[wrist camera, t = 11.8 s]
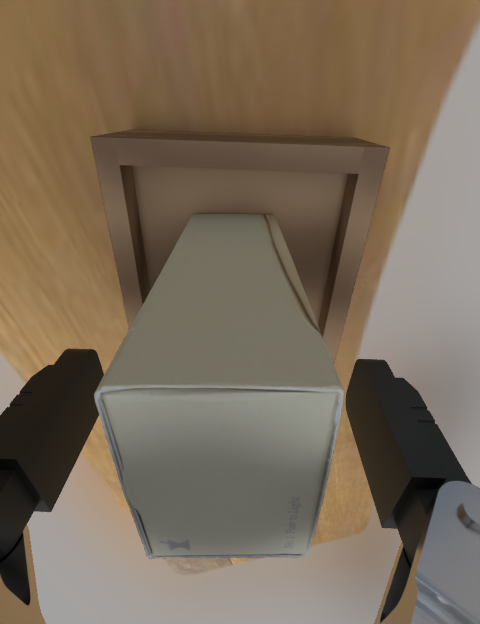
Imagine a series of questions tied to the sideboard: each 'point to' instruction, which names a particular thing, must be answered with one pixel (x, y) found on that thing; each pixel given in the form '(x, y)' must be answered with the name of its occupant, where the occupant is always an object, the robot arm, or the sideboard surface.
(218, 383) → the skincare box
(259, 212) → the brown wooden tray
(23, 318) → the sideboard surface
